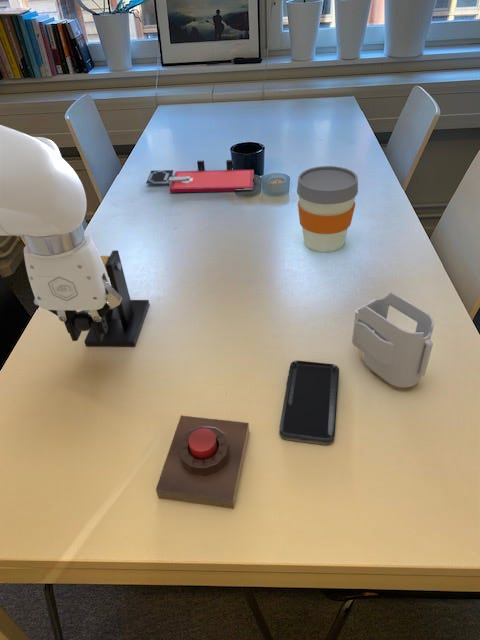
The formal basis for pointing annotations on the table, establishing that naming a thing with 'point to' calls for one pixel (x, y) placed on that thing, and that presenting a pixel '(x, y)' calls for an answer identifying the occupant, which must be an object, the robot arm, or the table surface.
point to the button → (202, 443)
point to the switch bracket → (120, 311)
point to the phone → (310, 403)
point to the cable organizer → (393, 341)
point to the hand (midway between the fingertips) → (89, 334)
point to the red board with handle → (204, 179)
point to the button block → (204, 464)
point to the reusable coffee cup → (326, 206)
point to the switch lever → (86, 311)
